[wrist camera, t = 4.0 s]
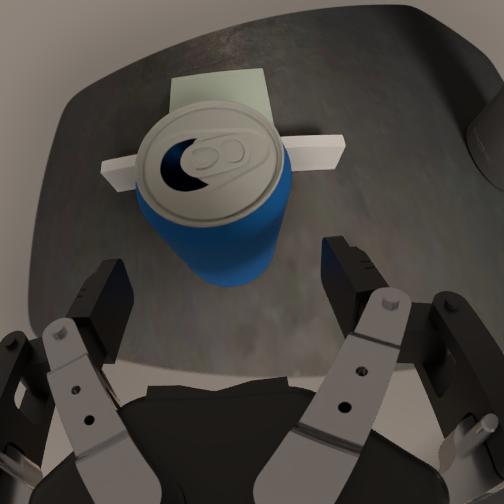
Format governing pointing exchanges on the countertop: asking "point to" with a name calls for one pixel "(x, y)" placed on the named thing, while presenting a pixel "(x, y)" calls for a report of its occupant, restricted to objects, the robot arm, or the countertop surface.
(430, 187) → the countertop surface
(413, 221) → the countertop surface
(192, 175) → the beverage can
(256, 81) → the mat
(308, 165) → the low wall
